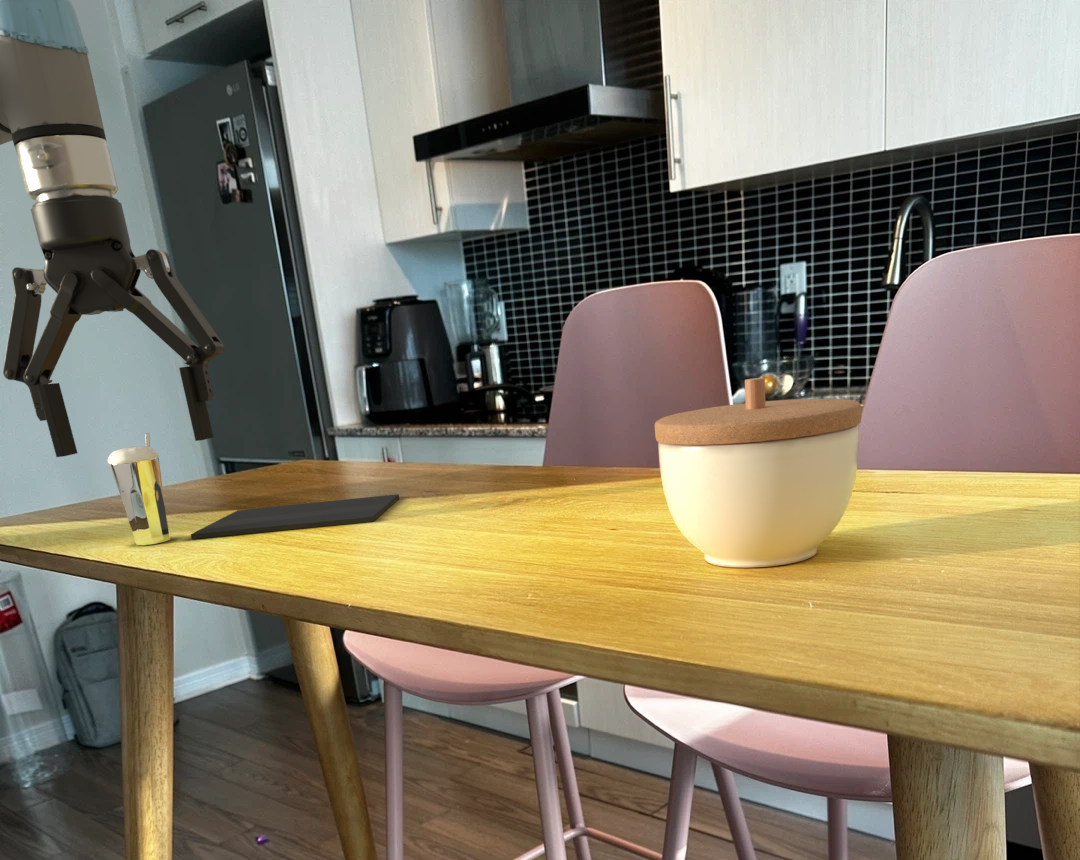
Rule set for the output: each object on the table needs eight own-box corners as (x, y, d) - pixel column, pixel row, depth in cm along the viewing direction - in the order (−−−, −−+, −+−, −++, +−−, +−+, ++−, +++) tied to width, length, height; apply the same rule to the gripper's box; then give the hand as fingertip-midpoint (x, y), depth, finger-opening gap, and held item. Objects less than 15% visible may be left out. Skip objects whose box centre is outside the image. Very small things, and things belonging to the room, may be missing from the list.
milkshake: (191, 534, 102) (168, 431, 99) (159, 545, 98) (133, 437, 94) (152, 536, 104) (128, 434, 100) (119, 548, 99) (92, 441, 95)
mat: (191, 539, 99) (190, 534, 99) (238, 514, 112) (237, 510, 112) (373, 521, 98) (372, 516, 98) (399, 498, 111) (398, 494, 111)
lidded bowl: (794, 586, 59) (790, 385, 55) (624, 569, 67) (611, 395, 64) (896, 540, 67) (899, 362, 63) (733, 530, 76) (727, 373, 72)
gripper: (-85, 213, 88) (-11, 466, 95) (196, 174, 85) (250, 436, 93) (-35, 222, 95) (30, 457, 102) (226, 186, 92) (274, 428, 100)
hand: (135, 447), depth 97 cm, fingers open, 13 cm apart
